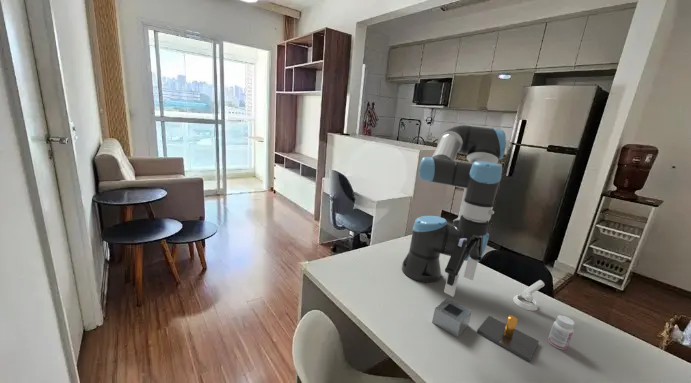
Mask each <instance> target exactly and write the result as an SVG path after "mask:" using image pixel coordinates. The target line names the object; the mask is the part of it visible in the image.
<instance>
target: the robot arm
mask: <svg viewBox="0 0 691 383" xmlns="http://www.w3.org/2000/svg"><path fill="white" fill-rule="evenodd" d="M506 139H507V137H506V133H505V131H504V130H503V129H500V128H499V129H498V128H495V127H491V128H490V127H480V126H474V125H473V126H472V125H465V124H464V125H462V124H461V125H455V126H453V127H450V128H448V129H446V130H444V131H442V132H441V134H440V135H439V137H438V139H437V147H436V149H435V150H434V152H433V154H432V156H423V157H422V159H421V160H420V164H419V169H418V178H419V179H420V180H421V181H426V182H429V183H436V184H440V185H441V184H442V185H448V186H453V187H456V188H457V187H458V188H463V194H462V199H461V203H460V208H459V214H458V217H457V218H455V219H453V220H452V224H449V223H448V221H447V219H445V218H444V217H441V216H437V215H422V216H420V217H416V219H415V220H414V224H413V227H412V235H411V241H410V245H409V250H408V253H407V254H406V256H405V257H404V260H403V261H402V266H401V270H402V273H403V274H405V275H406V276H407V277H408V278H411V279H412V280H415V281H418V282H421V283H434V282H437V281H439V280H440V278H441V273H442V269H441V264H440V255H445V256H449V260H448V263H447V265H446V267H445V269H444V272H445V273H446V274H447V276H446V282H445V285H444V290H443V292H444V293H445V294H447V295H449V296H450V297H452V298H453V297H455V294H456V289H457V286H458V281H459V276H460V274H459V273H460V270H461V268H462V266H463V265H464V262H465V261H466V265H465V269H464V273H463V277H464V278H466V279H468V280H471V281H473V280H474V278H475V275H476V274H475V273H476V269H477V266H478V262H480V261H482V259H483V255H484V253H485V251H486V248H487V245H488V242H489V238H490V234H489V233H488V230H489V226H490V222H489V221H490V220H491V218H492V215H494V214H495V211H494V210H493V209H494V206H495V201H496V199H497V198H496V197H497V194H498V190H499V185H500V183H501V180H502V173H503V166H502V165H501V164H499V160H502V159H503V158H504V155H505V150H506V143H507V142H506V141H507V140H506ZM457 154H461V155H466V160H467V161H468V162H469V163H468V162H463V161H457V160H456V158H457Z"/></svg>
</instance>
